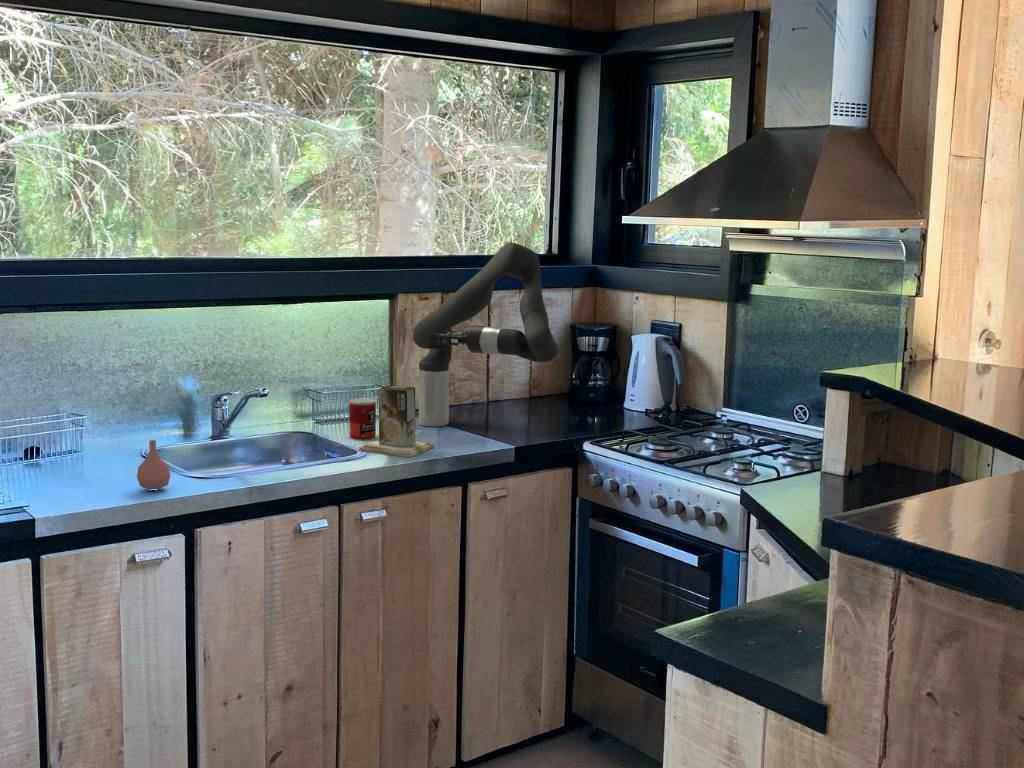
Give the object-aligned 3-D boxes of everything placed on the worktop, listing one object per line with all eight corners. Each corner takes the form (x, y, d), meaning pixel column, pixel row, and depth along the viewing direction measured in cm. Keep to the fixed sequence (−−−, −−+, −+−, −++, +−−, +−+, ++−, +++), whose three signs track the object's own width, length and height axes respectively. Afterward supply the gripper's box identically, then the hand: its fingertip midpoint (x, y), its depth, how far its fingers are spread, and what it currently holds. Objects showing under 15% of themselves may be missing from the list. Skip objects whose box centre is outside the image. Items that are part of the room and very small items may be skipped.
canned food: (363, 441, 325) (362, 403, 323) (343, 437, 329) (343, 400, 328) (381, 436, 331) (381, 400, 329) (362, 433, 335) (361, 397, 334)
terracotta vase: (159, 484, 273) (158, 436, 271) (177, 489, 268) (175, 440, 266) (130, 490, 267) (129, 440, 265) (148, 495, 262) (146, 445, 260)
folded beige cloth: (385, 441, 325) (385, 436, 324) (433, 447, 318) (433, 442, 318) (359, 450, 312) (359, 445, 312) (409, 457, 305) (409, 451, 305)
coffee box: (416, 442, 316) (416, 387, 314) (407, 447, 310) (407, 390, 308) (387, 440, 319) (386, 384, 317) (377, 444, 313) (377, 388, 311)
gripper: (499, 324, 313) (447, 320, 319) (475, 329, 300) (423, 324, 307) (498, 350, 314) (447, 346, 321) (475, 356, 301) (422, 352, 308)
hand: (435, 335), depth 314 cm, fingers open, 8 cm apart
